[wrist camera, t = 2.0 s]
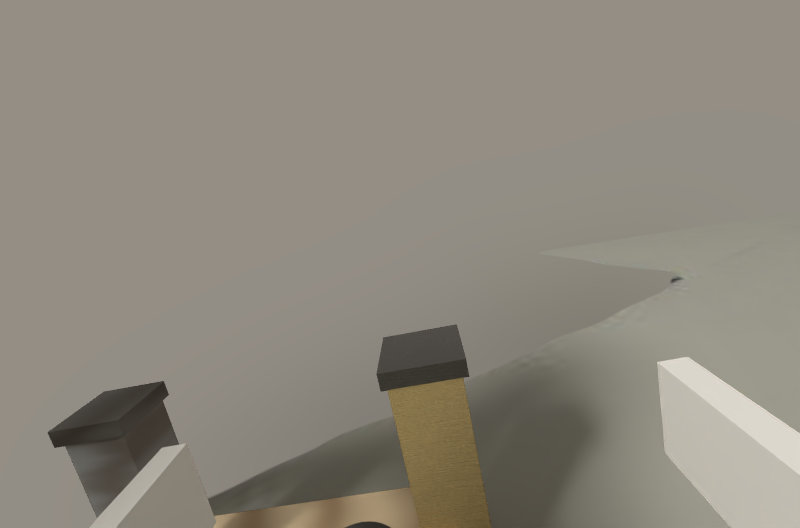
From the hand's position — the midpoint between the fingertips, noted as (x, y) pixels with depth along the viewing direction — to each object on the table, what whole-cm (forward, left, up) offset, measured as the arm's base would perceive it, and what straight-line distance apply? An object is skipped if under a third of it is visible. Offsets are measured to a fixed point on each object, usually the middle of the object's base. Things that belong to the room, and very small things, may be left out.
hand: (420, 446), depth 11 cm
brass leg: (0, +11, -16) cm, 20 cm away
